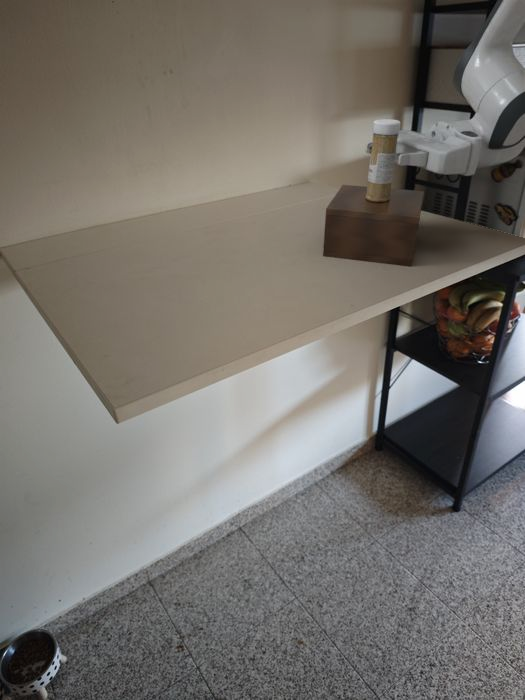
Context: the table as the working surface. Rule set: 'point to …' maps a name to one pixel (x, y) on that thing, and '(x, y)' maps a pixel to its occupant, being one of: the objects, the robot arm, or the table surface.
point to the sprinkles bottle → (382, 159)
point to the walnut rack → (372, 226)
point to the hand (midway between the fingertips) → (382, 153)
